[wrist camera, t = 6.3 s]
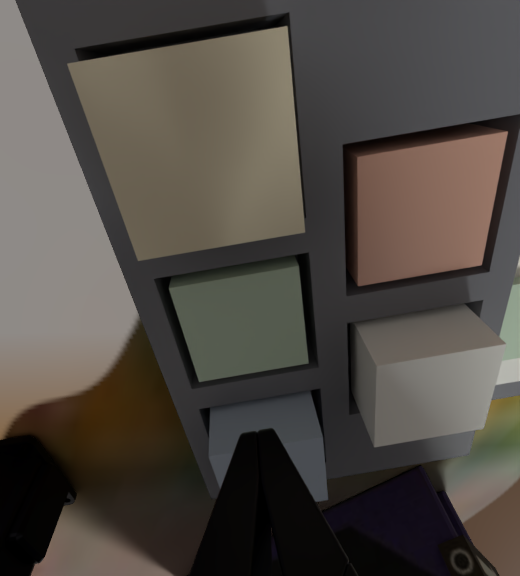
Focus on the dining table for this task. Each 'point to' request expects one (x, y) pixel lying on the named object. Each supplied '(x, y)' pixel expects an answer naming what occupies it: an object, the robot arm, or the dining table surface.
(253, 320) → the key sage
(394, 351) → the light grey key
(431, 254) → the key terracotta
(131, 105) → the key sand
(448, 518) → the book
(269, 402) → the key slate
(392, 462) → the keypad console
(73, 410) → the dining table surface
